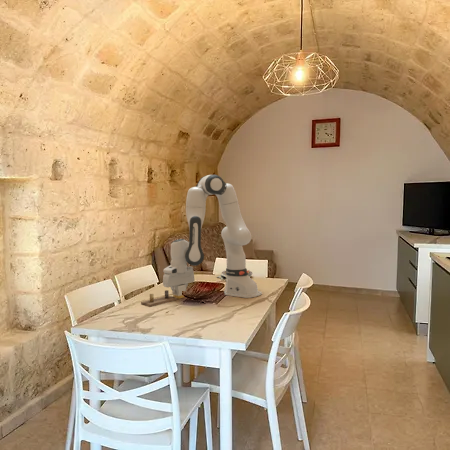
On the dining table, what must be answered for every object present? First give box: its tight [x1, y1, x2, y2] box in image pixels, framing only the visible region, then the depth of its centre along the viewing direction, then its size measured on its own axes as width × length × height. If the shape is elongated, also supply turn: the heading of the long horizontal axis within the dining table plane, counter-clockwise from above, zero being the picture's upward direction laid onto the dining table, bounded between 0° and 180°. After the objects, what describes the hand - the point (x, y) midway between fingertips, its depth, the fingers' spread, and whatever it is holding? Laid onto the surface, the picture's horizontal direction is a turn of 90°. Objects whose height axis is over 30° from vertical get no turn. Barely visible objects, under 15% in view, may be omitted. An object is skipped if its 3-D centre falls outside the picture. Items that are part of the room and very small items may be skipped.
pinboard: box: [140, 290, 178, 308], centre depth 216 cm, size 8×18×5 cm, turn 136°
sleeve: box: [172, 284, 187, 300], centre depth 226 cm, size 5×5×7 cm
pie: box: [216, 270, 253, 281], centre depth 277 cm, size 28×27×5 cm
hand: (179, 292), depth 226 cm, fingers open, 6 cm apart
